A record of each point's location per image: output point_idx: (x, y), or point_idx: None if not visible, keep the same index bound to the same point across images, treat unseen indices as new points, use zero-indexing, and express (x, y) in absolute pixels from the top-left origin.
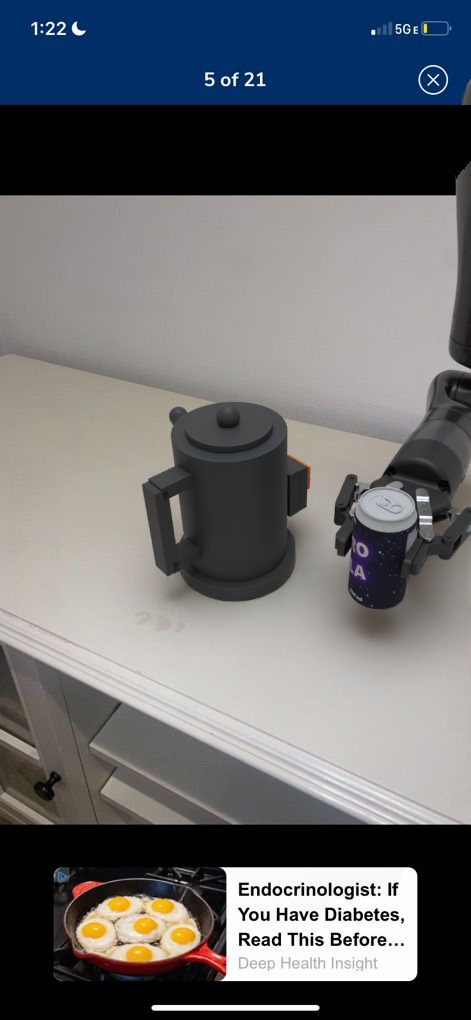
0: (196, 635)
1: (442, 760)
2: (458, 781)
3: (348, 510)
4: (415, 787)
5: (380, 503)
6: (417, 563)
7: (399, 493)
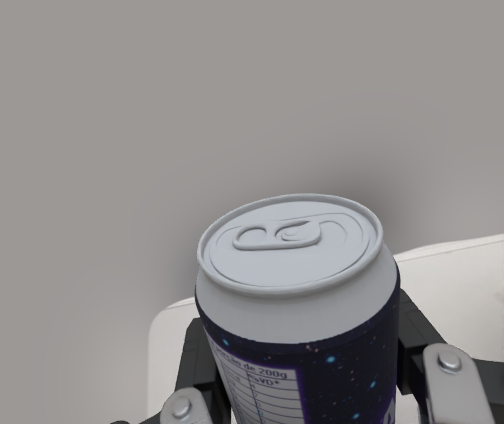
0: (475, 303)
1: (166, 344)
2: (152, 336)
3: (499, 389)
4: (186, 313)
5: (302, 224)
6: (194, 320)
7: (279, 284)
